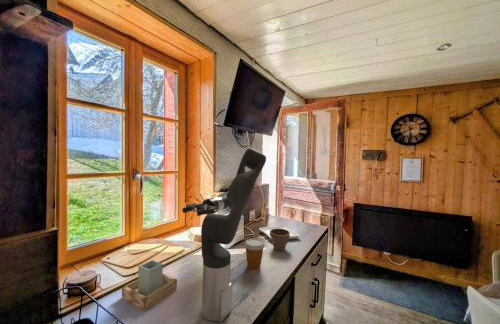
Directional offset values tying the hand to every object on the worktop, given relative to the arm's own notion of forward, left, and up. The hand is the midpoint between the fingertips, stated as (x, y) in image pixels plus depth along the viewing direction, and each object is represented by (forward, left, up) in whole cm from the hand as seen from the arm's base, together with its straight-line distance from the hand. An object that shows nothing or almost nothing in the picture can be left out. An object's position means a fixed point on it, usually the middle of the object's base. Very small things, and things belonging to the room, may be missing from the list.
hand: (190, 212), depth 97 cm
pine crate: (+3, +17, -28) cm, 33 cm away
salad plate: (-16, -68, -29) cm, 75 cm away
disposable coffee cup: (-21, -22, -28) cm, 41 cm away
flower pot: (-24, -48, -28) cm, 61 cm away
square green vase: (+3, +17, -27) cm, 32 cm away
